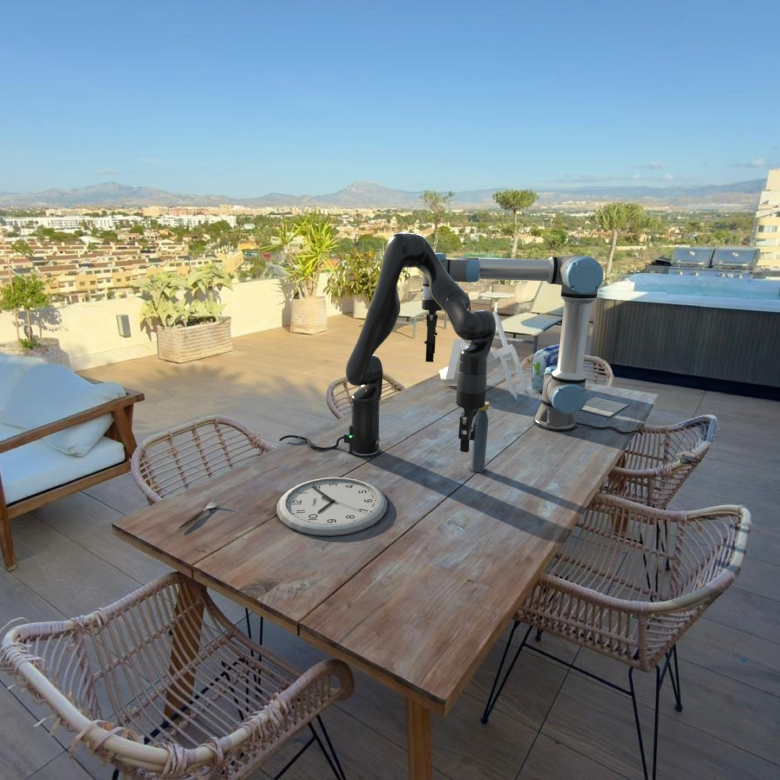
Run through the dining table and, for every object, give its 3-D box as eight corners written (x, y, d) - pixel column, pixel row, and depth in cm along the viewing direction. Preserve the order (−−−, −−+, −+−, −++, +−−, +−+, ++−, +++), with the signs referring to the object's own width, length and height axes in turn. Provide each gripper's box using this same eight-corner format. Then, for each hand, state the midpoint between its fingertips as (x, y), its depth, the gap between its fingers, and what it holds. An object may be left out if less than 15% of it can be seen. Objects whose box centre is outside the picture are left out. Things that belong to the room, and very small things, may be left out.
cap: (473, 407, 160) (474, 401, 160) (484, 405, 162) (484, 400, 161) (480, 411, 157) (481, 405, 156) (490, 409, 158) (491, 403, 158)
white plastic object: (461, 429, 252) (437, 405, 227) (444, 352, 274) (420, 323, 250) (535, 404, 240) (518, 377, 215) (510, 326, 262) (492, 293, 237)
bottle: (468, 468, 166) (473, 402, 160) (479, 465, 168) (484, 401, 162) (475, 473, 163) (480, 406, 156) (487, 471, 164) (492, 405, 158)
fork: (174, 529, 130) (174, 521, 130) (216, 499, 144) (215, 492, 144) (183, 531, 129) (182, 524, 129) (223, 501, 144) (223, 494, 143)
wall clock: (392, 527, 129) (268, 531, 127) (391, 533, 130) (269, 537, 127) (383, 473, 158) (282, 475, 155) (383, 478, 158) (282, 480, 156)
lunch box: (547, 397, 237) (552, 352, 231) (526, 391, 245) (531, 348, 238) (574, 386, 255) (580, 344, 249) (554, 381, 262) (559, 340, 256)
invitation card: (608, 416, 214) (573, 407, 224) (608, 416, 214) (573, 408, 224) (628, 404, 229) (594, 396, 238) (628, 405, 229) (594, 397, 238)
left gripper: (462, 379, 143) (459, 434, 148) (450, 394, 130) (447, 453, 135) (490, 382, 141) (486, 437, 146) (480, 397, 128) (476, 458, 133)
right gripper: (424, 293, 195) (422, 349, 202) (419, 302, 172) (417, 365, 178) (444, 294, 195) (441, 350, 201) (442, 303, 171) (439, 366, 177)
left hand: (467, 445), depth 140 cm, fingers open, 8 cm apart
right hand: (430, 357), depth 190 cm, fingers open, 13 cm apart
